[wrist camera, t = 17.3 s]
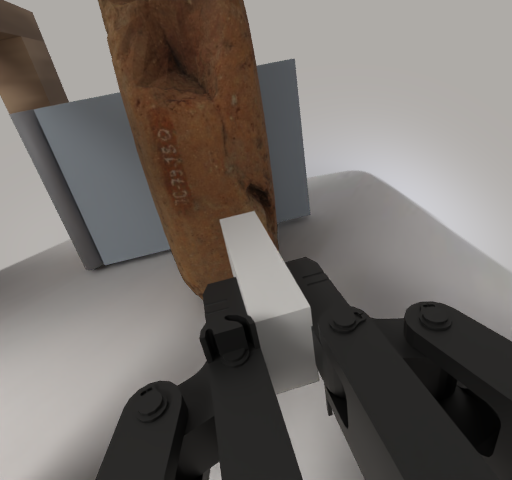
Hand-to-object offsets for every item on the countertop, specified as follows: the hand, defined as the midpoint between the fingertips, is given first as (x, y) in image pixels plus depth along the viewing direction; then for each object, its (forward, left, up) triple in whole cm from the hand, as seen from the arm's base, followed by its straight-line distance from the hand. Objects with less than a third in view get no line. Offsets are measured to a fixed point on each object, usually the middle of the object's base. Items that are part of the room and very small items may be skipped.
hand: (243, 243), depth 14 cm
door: (-3, +16, -7) cm, 18 cm away
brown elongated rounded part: (0, +9, -7) cm, 12 cm away
